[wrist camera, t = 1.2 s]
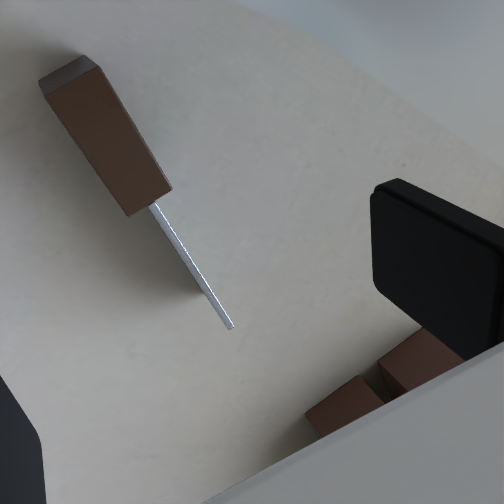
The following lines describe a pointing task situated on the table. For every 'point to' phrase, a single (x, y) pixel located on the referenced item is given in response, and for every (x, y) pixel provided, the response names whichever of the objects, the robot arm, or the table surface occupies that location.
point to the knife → (115, 148)
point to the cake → (396, 377)
